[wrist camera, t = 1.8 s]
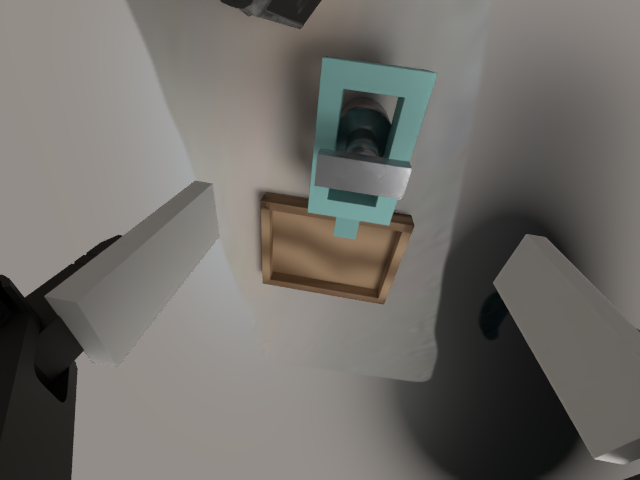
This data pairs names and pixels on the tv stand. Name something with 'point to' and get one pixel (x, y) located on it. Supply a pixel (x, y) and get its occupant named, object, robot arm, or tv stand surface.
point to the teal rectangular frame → (403, 134)
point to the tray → (329, 251)
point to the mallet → (362, 154)
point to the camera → (277, 10)
